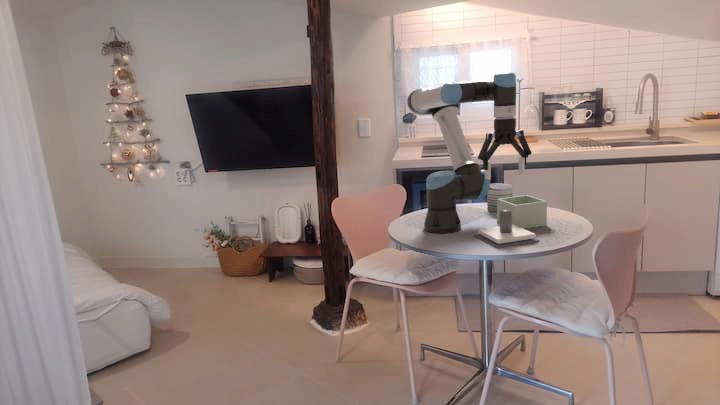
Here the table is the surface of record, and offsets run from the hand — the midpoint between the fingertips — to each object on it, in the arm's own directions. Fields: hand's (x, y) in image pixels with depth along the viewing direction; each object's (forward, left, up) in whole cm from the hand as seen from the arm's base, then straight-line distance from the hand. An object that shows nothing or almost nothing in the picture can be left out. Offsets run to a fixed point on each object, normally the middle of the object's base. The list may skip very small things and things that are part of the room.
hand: (504, 176), depth 178 cm
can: (+20, +39, -24) cm, 50 cm away
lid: (0, 0, -23) cm, 23 cm away
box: (+16, +15, -23) cm, 32 cm away
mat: (0, 0, -24) cm, 23 cm away
